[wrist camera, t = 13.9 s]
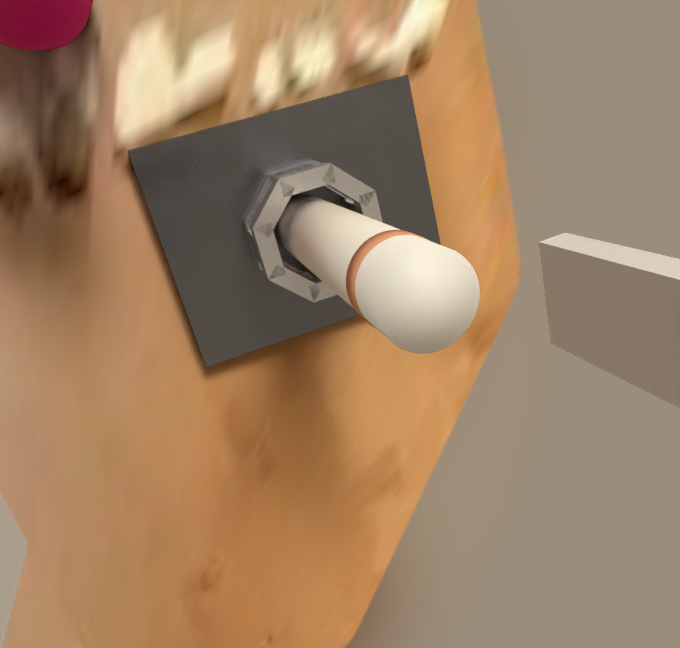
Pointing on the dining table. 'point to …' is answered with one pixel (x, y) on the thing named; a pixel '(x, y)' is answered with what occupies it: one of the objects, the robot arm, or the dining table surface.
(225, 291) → the tube holder base
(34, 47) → the pepper mill
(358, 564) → the dining table surface
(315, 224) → the cream ringed tube
